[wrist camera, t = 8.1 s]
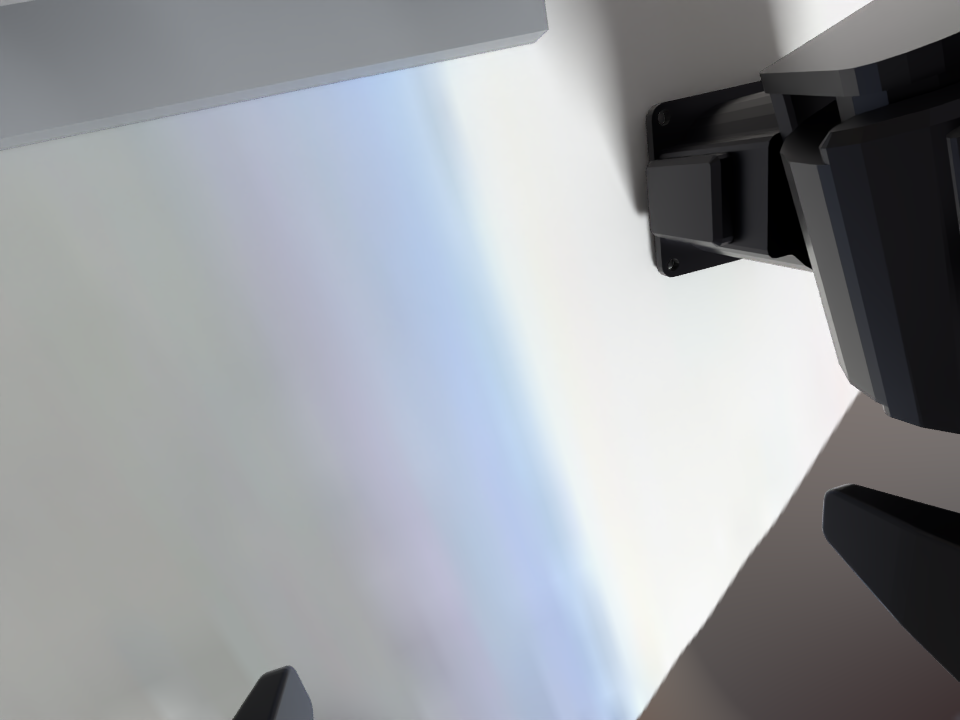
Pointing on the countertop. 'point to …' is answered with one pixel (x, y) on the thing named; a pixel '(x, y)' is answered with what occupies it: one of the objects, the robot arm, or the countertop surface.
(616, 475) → the countertop surface
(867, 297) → the robot arm
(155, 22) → the plate
